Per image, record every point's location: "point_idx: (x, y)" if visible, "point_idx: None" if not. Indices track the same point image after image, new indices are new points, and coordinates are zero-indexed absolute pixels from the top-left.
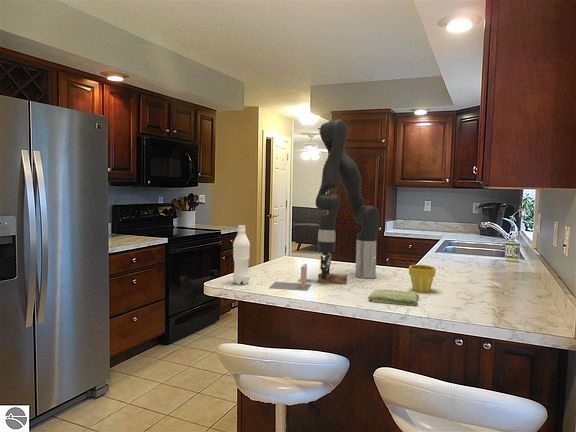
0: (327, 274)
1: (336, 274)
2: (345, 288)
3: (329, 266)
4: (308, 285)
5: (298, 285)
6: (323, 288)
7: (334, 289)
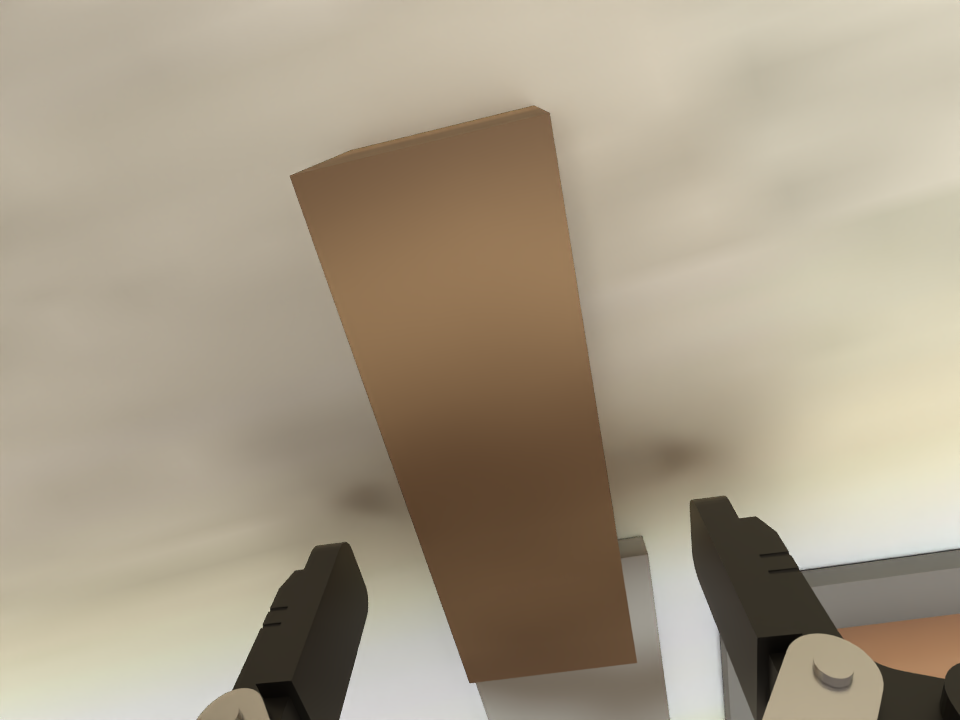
0: (496, 560)
1: (395, 416)
2: (762, 44)
3: (263, 699)
4: (828, 608)
5: None
6: (862, 407)
7: (899, 227)
